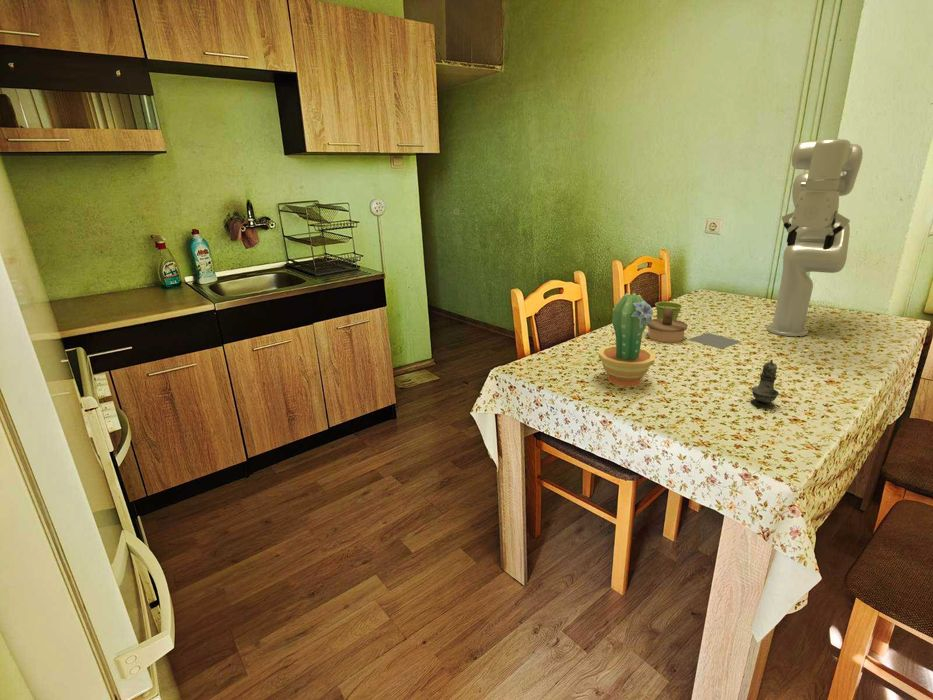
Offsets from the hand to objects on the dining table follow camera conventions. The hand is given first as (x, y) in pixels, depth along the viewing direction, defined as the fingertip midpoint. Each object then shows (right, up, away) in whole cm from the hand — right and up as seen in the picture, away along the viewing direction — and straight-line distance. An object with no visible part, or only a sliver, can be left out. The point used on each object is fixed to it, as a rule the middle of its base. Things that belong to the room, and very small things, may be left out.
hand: (808, 247), depth 144 cm
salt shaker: (-27, -44, -22) cm, 57 cm away
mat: (-17, -28, +21) cm, 39 cm away
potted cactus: (-57, -39, -6) cm, 69 cm away
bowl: (-32, -27, +25) cm, 49 cm away
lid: (-32, -22, +23) cm, 46 cm away
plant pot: (-26, -22, +39) cm, 52 cm away
